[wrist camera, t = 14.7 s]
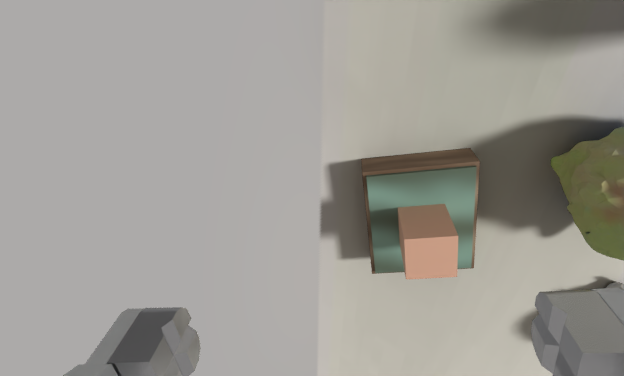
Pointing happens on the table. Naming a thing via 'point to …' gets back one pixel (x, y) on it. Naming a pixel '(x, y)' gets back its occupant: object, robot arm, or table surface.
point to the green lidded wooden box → (419, 200)
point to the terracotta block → (428, 241)
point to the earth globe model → (596, 190)
